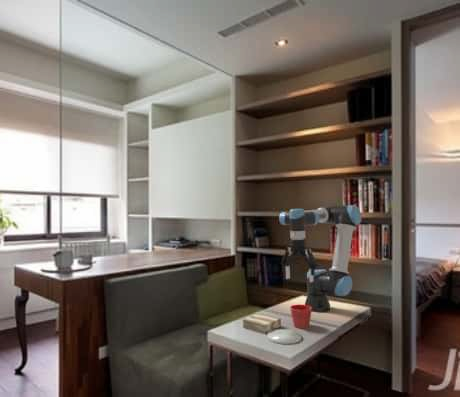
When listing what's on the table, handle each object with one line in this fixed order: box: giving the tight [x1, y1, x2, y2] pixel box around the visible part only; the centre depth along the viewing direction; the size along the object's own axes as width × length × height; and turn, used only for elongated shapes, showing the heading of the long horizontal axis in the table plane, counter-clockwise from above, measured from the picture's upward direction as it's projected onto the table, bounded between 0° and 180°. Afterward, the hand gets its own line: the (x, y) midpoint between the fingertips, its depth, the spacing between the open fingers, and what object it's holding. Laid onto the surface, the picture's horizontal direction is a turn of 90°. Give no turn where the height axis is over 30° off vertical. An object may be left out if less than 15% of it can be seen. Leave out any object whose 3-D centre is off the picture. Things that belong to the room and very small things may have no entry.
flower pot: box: [290, 304, 312, 329], centre depth 178 cm, size 11×11×10 cm
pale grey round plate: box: [267, 328, 303, 345], centre depth 163 cm, size 16×16×1 cm
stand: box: [242, 312, 282, 334], centre depth 178 cm, size 14×14×4 cm
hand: (299, 280), depth 176 cm, fingers open, 13 cm apart
